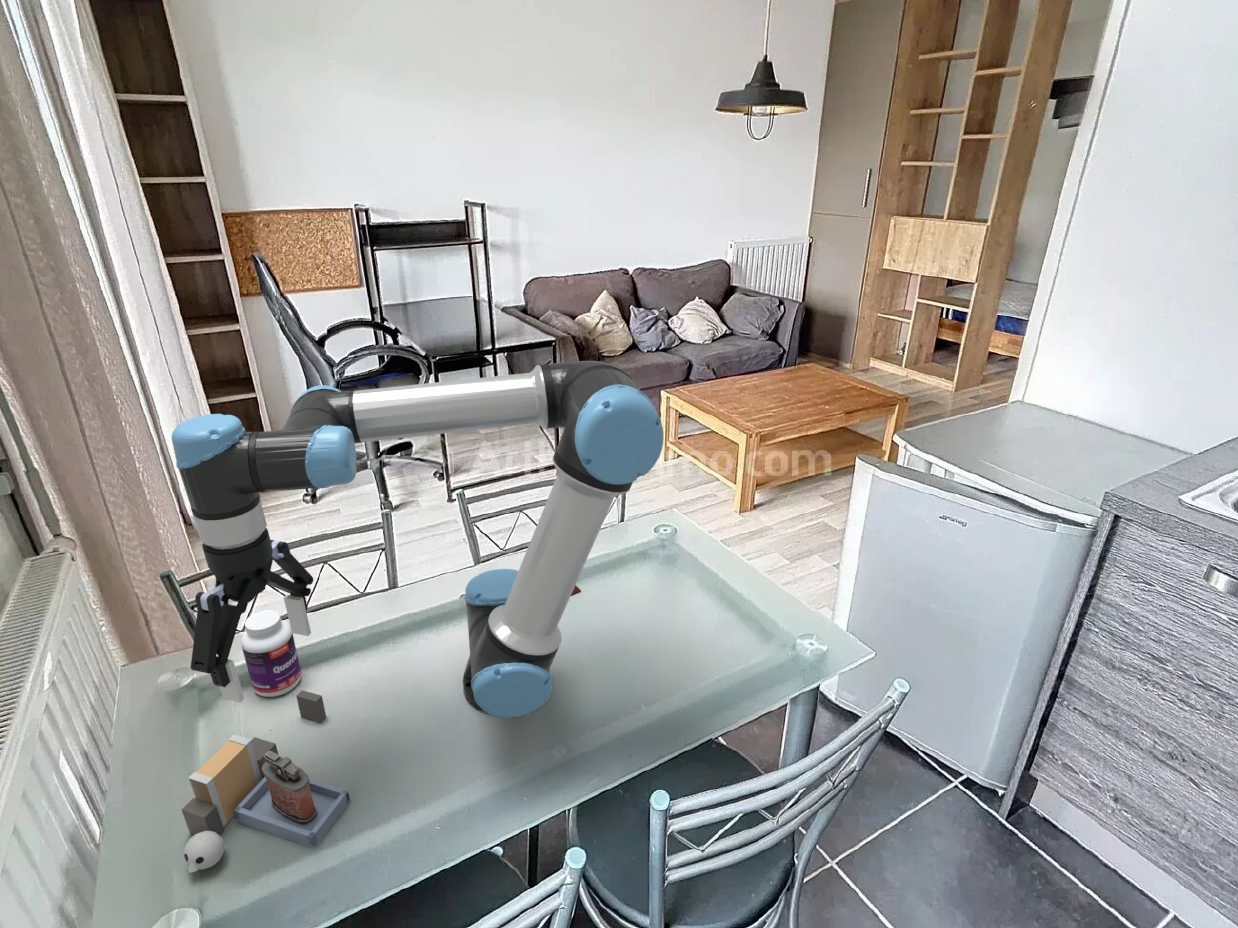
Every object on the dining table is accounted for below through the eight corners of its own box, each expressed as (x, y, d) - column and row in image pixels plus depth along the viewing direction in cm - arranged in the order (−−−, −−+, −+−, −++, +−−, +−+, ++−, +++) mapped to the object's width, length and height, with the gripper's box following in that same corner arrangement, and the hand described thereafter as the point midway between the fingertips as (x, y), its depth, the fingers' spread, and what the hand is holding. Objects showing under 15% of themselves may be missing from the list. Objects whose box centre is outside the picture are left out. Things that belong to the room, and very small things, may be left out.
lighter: (323, 811, 100) (311, 762, 95) (303, 829, 97) (291, 780, 93) (285, 788, 103) (272, 740, 99) (265, 805, 100) (251, 757, 96)
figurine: (177, 877, 91) (167, 853, 89) (203, 843, 95) (195, 819, 93) (210, 884, 90) (201, 860, 88) (235, 849, 95) (227, 826, 92)
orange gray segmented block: (326, 717, 116) (317, 676, 112) (212, 841, 96) (197, 796, 92) (306, 711, 117) (297, 670, 113) (190, 833, 97) (173, 788, 93)
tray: (350, 801, 102) (348, 790, 101) (314, 848, 95) (311, 837, 94) (276, 777, 105) (273, 766, 104) (237, 821, 98) (233, 810, 97)
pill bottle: (283, 703, 119) (267, 638, 113) (243, 695, 120) (225, 631, 114) (311, 671, 126) (298, 608, 120) (273, 664, 127) (257, 602, 121)
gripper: (277, 487, 98) (304, 606, 107) (123, 586, 76) (175, 725, 85) (322, 493, 96) (346, 614, 105) (179, 597, 74) (225, 737, 84)
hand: (270, 663), depth 95 cm, fingers open, 13 cm apart
